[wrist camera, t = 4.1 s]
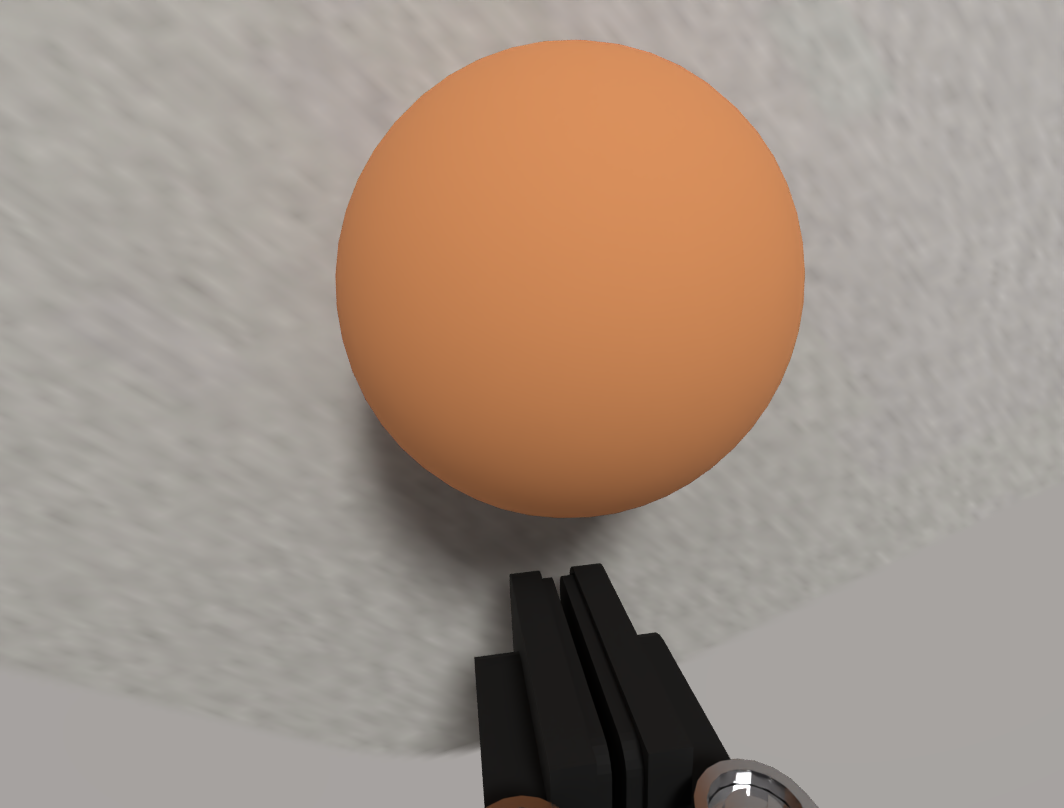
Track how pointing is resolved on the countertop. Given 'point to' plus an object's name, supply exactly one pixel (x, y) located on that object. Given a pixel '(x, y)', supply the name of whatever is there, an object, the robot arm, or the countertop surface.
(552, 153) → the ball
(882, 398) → the countertop surface
